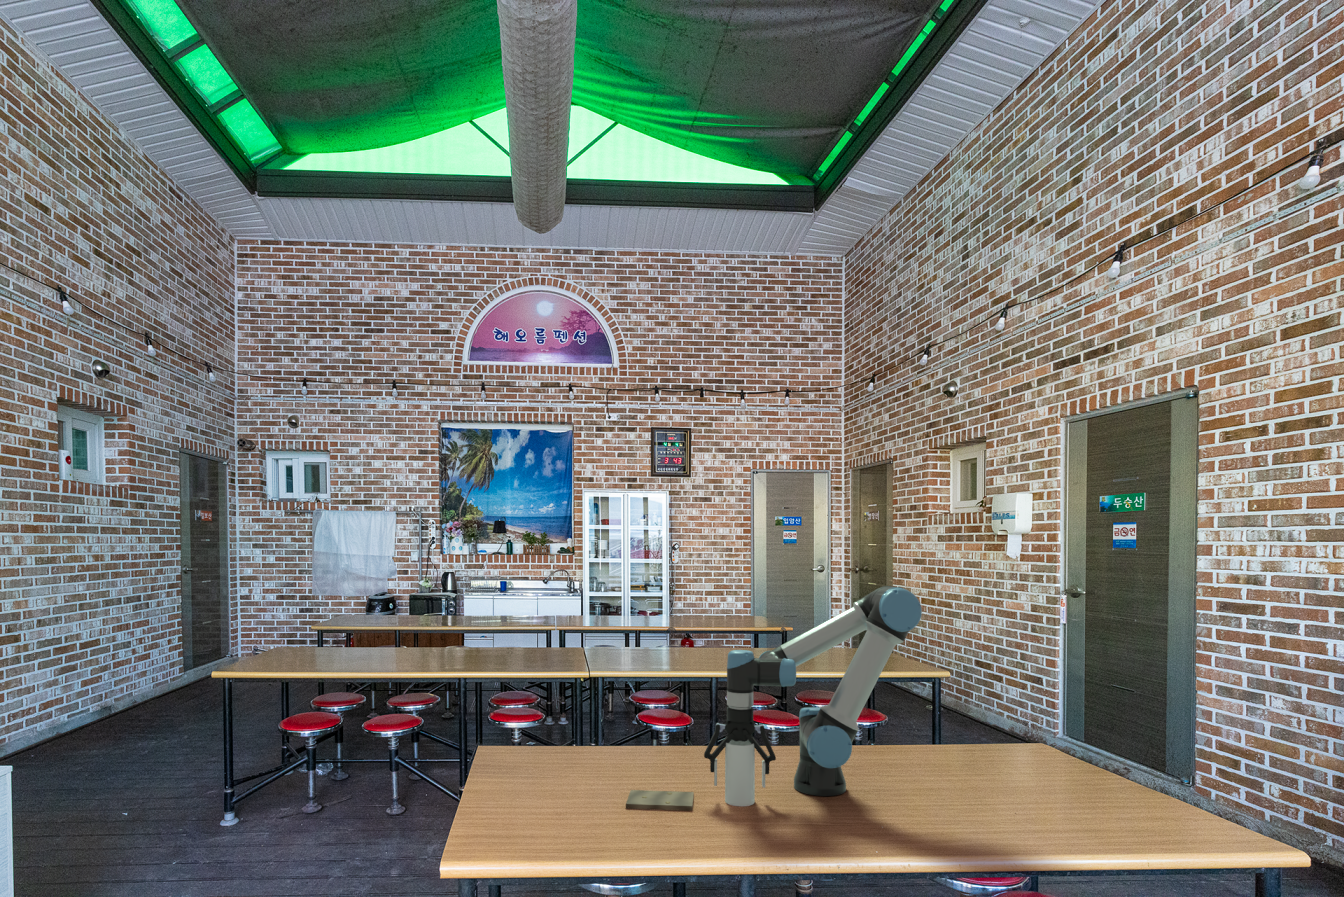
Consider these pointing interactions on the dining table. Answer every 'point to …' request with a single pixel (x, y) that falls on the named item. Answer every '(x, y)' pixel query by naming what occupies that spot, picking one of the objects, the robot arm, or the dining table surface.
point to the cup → (740, 773)
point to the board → (660, 800)
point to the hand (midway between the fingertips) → (739, 785)
